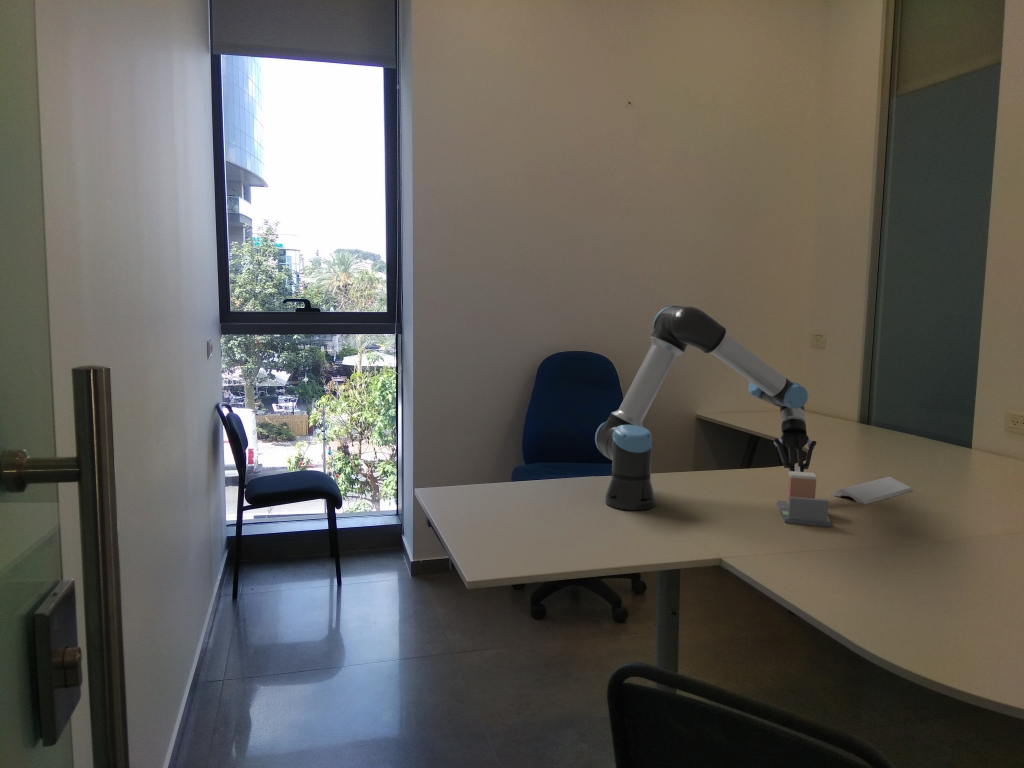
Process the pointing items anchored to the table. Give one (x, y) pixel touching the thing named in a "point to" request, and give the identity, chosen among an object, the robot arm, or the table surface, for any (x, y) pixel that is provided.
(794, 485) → the orange box with lid
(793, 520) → the base
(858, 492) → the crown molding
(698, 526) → the table surface
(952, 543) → the table surface
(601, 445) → the robot arm
